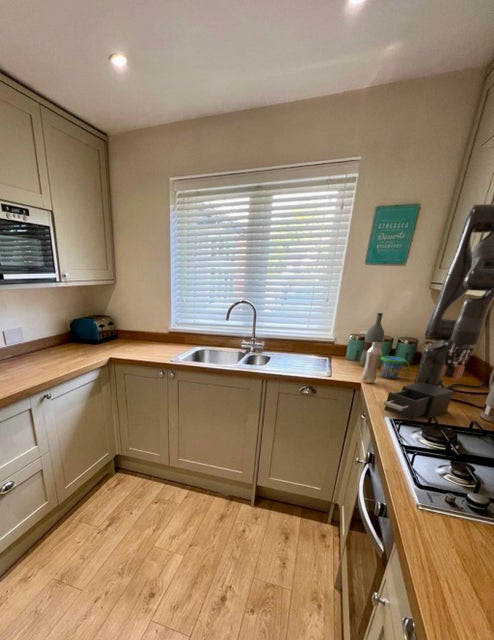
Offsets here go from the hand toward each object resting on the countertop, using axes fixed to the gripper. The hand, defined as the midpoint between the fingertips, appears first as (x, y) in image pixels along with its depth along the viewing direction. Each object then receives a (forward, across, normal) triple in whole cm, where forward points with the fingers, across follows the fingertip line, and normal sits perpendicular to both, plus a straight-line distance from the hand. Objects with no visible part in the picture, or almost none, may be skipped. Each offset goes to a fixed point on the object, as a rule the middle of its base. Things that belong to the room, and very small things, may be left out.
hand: (451, 375), depth 122 cm
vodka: (+16, +42, +58) cm, 73 cm away
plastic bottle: (+16, +12, +38) cm, 43 cm away
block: (0, 0, 0) cm, 0 cm away
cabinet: (+16, 0, +6) cm, 17 cm away
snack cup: (+16, +32, +39) cm, 52 cm away
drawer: (+15, -13, +6) cm, 21 cm away
